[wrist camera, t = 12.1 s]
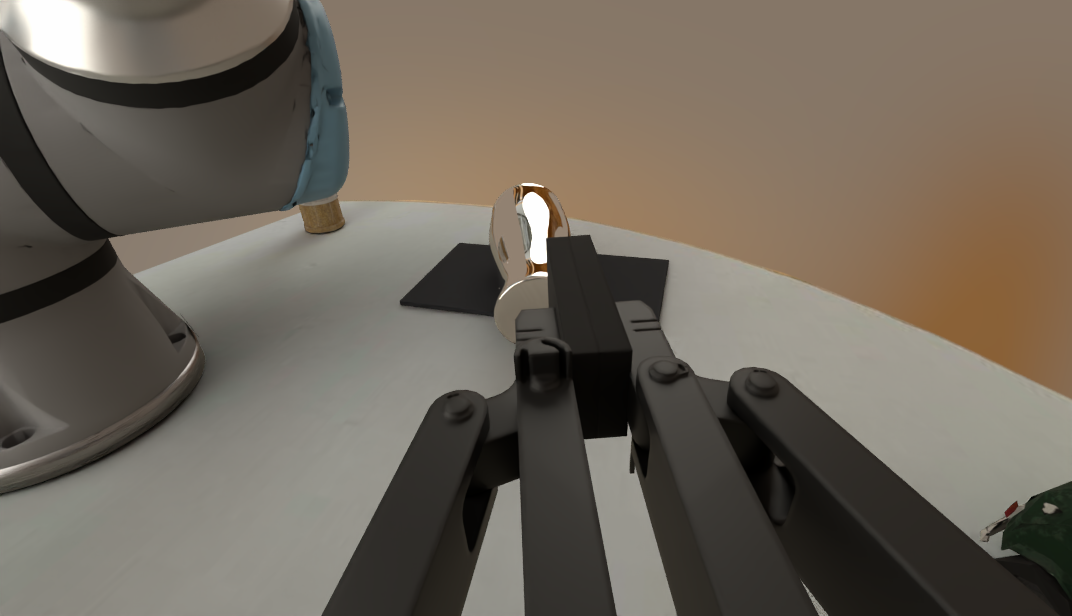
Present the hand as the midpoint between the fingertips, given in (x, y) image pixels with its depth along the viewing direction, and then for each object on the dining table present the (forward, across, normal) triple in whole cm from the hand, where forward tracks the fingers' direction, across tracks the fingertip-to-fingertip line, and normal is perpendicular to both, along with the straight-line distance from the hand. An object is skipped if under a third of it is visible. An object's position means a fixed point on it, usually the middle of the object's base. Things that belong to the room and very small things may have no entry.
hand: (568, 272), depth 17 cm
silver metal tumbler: (+13, -1, -10) cm, 16 cm away
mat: (+23, 0, -13) cm, 26 cm away
